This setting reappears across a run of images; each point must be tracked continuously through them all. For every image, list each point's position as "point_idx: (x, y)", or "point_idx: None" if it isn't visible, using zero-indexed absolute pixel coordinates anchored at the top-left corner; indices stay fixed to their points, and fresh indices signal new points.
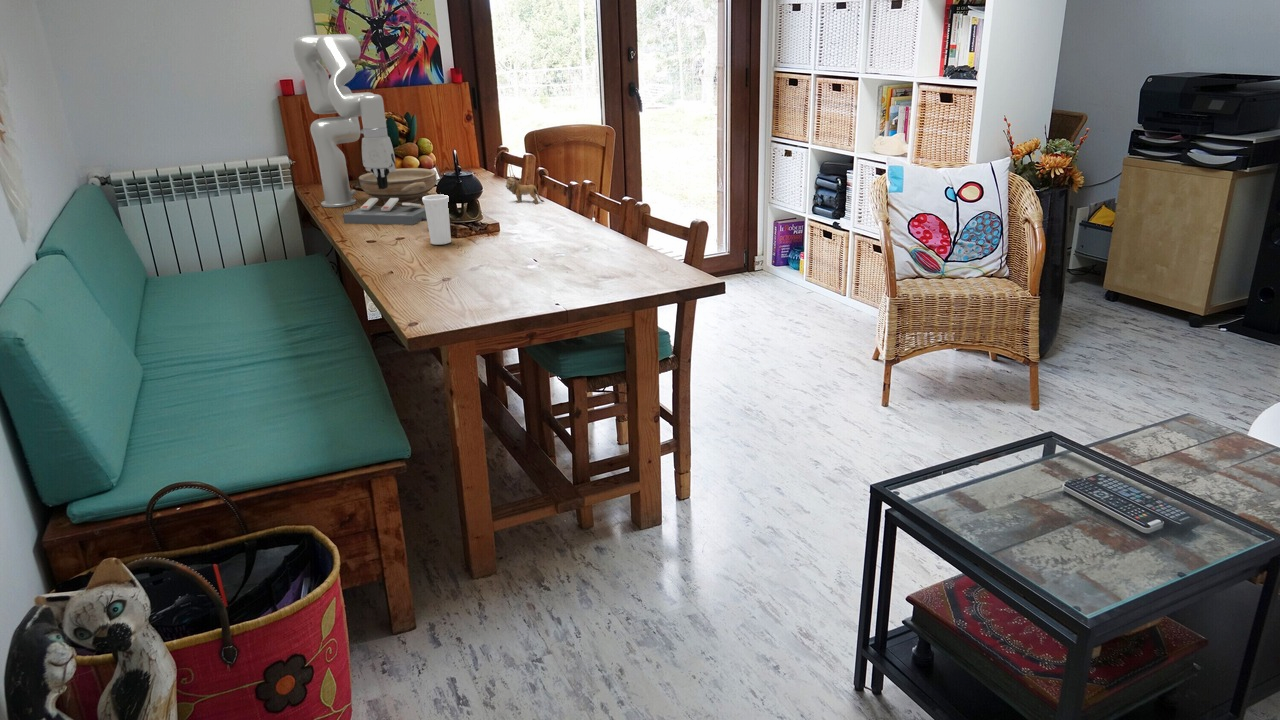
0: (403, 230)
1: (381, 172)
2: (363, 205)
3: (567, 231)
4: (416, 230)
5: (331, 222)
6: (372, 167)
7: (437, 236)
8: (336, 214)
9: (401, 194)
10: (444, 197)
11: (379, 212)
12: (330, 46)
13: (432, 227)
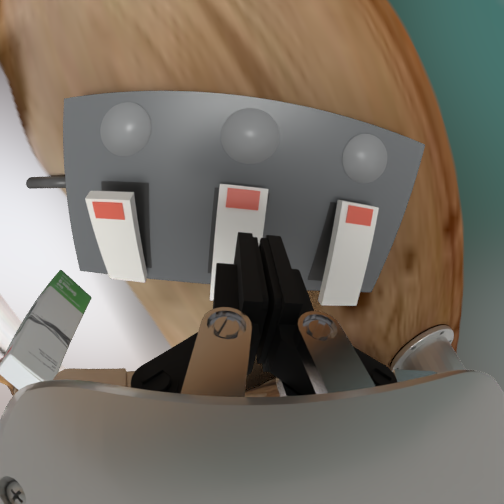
0: (92, 13)
1: (238, 359)
2: (369, 232)
3: None
4: (49, 30)
5: (441, 159)
6: (394, 391)
7: None
8: (434, 268)
9: (266, 386)
10: None
11: (270, 167)
12: None
13: None
